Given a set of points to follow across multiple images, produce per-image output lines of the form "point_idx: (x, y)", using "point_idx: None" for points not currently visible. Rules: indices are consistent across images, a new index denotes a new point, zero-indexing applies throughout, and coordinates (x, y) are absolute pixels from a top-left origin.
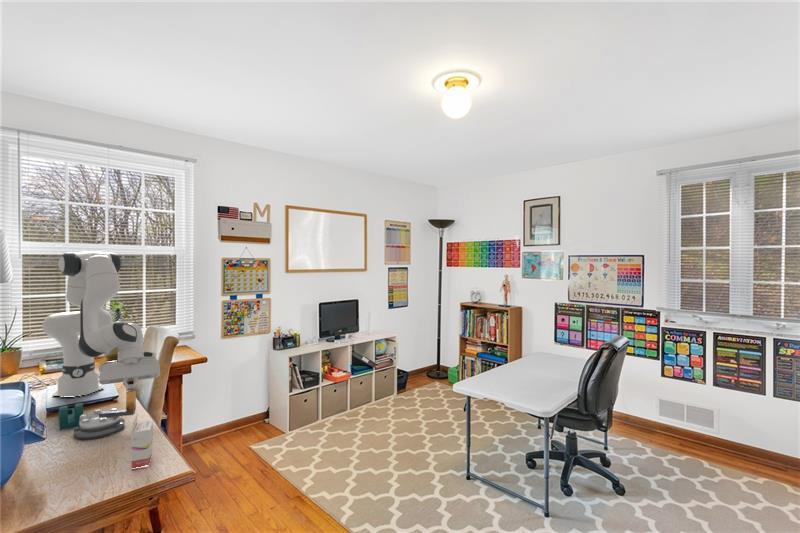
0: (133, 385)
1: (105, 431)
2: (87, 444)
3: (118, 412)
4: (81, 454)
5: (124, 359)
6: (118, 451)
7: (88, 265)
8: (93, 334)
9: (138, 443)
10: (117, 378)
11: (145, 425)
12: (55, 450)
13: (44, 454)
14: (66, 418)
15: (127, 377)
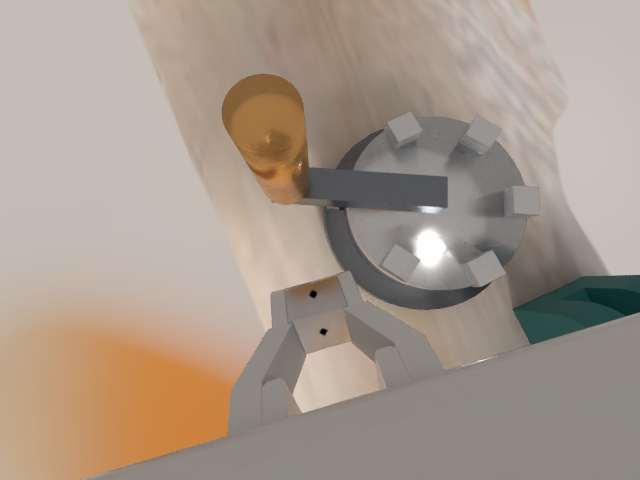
0: (288, 307)
1: (370, 135)
2: (405, 99)
3: (347, 170)
4: (391, 28)
5: None
6: (281, 16)
7: None
8: None
9: None
10: (537, 343)
11: None
12: (493, 82)
13: (513, 61)
14: (615, 286)
15: (387, 387)
